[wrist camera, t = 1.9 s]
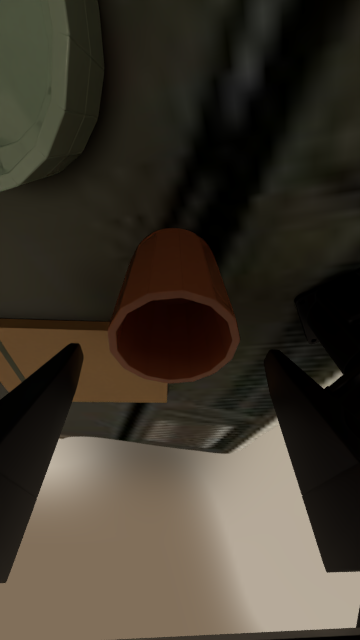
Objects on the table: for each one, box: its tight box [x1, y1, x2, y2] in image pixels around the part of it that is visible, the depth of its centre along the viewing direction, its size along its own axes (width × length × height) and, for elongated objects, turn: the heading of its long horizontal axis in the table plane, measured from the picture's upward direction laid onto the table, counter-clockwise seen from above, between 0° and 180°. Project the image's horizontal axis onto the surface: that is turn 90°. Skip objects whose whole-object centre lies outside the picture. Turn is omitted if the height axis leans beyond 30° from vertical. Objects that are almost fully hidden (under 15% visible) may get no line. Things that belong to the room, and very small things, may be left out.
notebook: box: [0, 318, 168, 403], centre depth 23 cm, size 12×18×1 cm
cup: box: [107, 228, 240, 383], centre depth 14 cm, size 6×6×8 cm
